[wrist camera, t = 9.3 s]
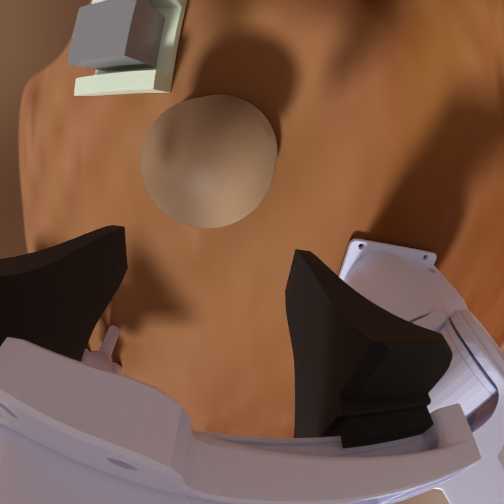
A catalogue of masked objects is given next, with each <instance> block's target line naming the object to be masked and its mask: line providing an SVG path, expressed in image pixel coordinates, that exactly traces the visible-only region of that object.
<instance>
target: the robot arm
mask: <svg viewBox="0 0 504 504" xmlns="http://www.w3.org/2000/svg"><path fill="white" fill-rule="evenodd" d="M360 244H363V245H362V246H361V247H358V246H359V245H360ZM424 256H425V257H424ZM423 257H424V258H423ZM436 258H437V256H436V254H435V253H433V252H429V251H424V250H418V249H413V248H408V247H402V246H397V245H392V244H386V243H380V242H375V241H369V240H363V239H357V238H354V239H352V240H351V241H350V242H349V245H348V248H347V251H346V255H345V258H344V261H343V264H342V267H341V270H340V273H339V275H338V276H337V275H336V274H335V273H334V272H333V271H332V270H331V269H330V268H328V267H327V266H326V265H325V264H324V263H323V262H322V261H321V260H320V259H319V258H318V257H317V256H315V255H314V254H313V253H312V252H310V251H304V250H297V249H295V254H294V258H293V262H292V266H291V270H290V274H289V278H288V282H287V286H286V290H285V299H286V314H287V320H288V326H289V331H290V337H291V343H292V349H293V355H294V367H295V430H294V438H263V437H246V436H234V435H224V434H216V433H208V432H201V431H195V430H192V421H191V419H190V417H189V416H188V414H187V413H186V411H185V410H184V408H183V407H182V405H181V404H180V403H179V402H178V401H177V400H175V399H174V398H172V397H170V396H169V395H167V394H166V393H164V392H163V391H161V390H160V389H158V388H157V387H155V386H153V385H150V384H147V383H144V382H142V381H139V380H137V379H134V378H131V377H129V376H126V375H122V374H119V373H115V372H112V371H108V370H105V369H101V368H98V367H95V366H92V365H89V364H86V363H83V362H81V360H82V357H83V354H84V351H85V348H86V346H87V343H88V341H89V338H90V336H91V334H92V331H93V329H94V327H95V325H96V323H97V322H98V320H99V318H100V317H101V315H102V313H103V312H104V310H105V308H106V307H107V305H108V304H109V302H110V301H111V299H112V297H113V296H114V294H115V293H116V291H117V289H118V288H119V286H120V284H121V282H122V280H123V278H124V275H125V273H126V271H127V269H128V266H127V255H126V243H125V228H124V227H123V226H115V225H111V226H106V227H103V228H100V229H97V230H95V231H92V232H89V233H87V234H84V235H82V236H79V237H77V238H74V239H72V240H69V241H66V242H64V243H61V244H59V245H56V246H53V247H50V248H47V249H44V250H40V251H37V252H33V253H29V254H25V255H20V256H16V257H11V258H4V259H0V504H393V503H396V502H399V501H402V500H405V499H407V498H410V497H413V496H416V495H418V494H421V493H423V492H426V491H428V490H431V489H433V488H434V489H440V490H442V491H443V493H444V494H445V496H446V498H447V500H448V502H449V503H450V504H504V354H503V353H502V351H501V350H500V348H499V347H498V345H497V344H496V342H495V341H494V340H493V338H492V337H491V336H490V334H489V333H488V332H487V330H486V329H485V328H484V327H483V325H482V324H481V323H480V322H479V321H478V319H477V318H476V317H475V316H474V315H473V314H472V313H471V312H470V311H469V310H468V308H467V305H466V303H465V301H464V299H463V298H462V297H461V295H460V294H459V293H458V292H457V291H456V289H455V288H454V287H453V286H452V285H451V284H450V282H449V281H448V280H447V279H446V278H445V277H444V276H443V274H442V273H441V272H440V271H439V270H438V269H437V268H436V267H435V266H434V263H435V261H436Z"/></svg>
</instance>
